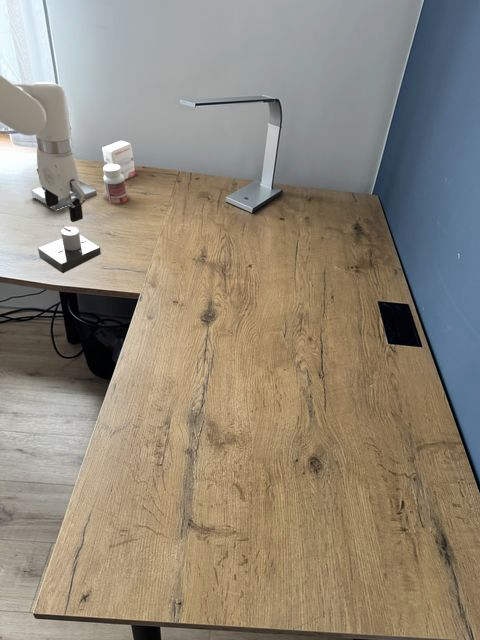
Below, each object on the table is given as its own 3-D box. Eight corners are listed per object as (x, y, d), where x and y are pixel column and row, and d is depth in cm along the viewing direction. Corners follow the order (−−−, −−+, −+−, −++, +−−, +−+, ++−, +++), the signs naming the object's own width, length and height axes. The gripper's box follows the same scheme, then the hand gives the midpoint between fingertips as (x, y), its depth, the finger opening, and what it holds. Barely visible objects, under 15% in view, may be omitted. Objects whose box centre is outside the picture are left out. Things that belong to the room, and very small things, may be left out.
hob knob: (84, 246, 134) (82, 230, 130) (70, 252, 131) (67, 236, 128) (74, 239, 135) (71, 223, 132) (60, 245, 133) (57, 229, 129)
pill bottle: (131, 201, 159) (126, 166, 151) (117, 208, 156) (111, 173, 148) (118, 195, 162) (112, 161, 154) (103, 202, 158) (96, 167, 150)
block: (55, 213, 150) (52, 201, 147) (29, 197, 155) (26, 185, 152) (99, 197, 160) (97, 186, 157) (73, 183, 165) (71, 171, 162)
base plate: (63, 274, 129) (61, 263, 127) (39, 257, 133) (37, 247, 131) (101, 256, 136) (100, 246, 134) (78, 241, 140) (76, 231, 138)
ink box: (126, 173, 173) (121, 139, 165) (136, 177, 171) (131, 142, 163) (107, 182, 168) (101, 147, 160) (117, 186, 166) (111, 151, 158)
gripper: (17, 134, 116) (30, 203, 127) (64, 160, 109) (73, 231, 120) (46, 128, 121) (56, 195, 132) (92, 153, 114) (99, 221, 125)
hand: (64, 212), depth 126 cm, fingers open, 9 cm apart
